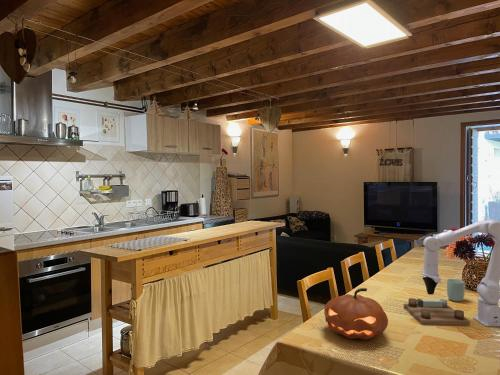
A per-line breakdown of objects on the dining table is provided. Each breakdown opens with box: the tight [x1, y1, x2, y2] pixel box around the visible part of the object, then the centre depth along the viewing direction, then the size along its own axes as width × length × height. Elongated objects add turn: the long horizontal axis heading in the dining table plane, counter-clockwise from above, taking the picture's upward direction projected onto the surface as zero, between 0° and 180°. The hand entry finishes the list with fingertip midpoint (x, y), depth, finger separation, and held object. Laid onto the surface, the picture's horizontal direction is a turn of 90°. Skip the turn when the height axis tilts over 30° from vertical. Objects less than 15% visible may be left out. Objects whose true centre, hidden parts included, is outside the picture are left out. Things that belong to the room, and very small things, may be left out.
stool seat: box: [403, 297, 471, 327], centre depth 163 cm, size 20×20×5 cm
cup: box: [446, 278, 466, 303], centre depth 184 cm, size 8×8×10 cm
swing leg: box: [416, 298, 448, 307], centre depth 170 cm, size 13×3×3 cm, turn 87°
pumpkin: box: [323, 287, 389, 341], centre depth 145 cm, size 25×25×19 cm
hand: (430, 294), depth 163 cm, fingers closed
